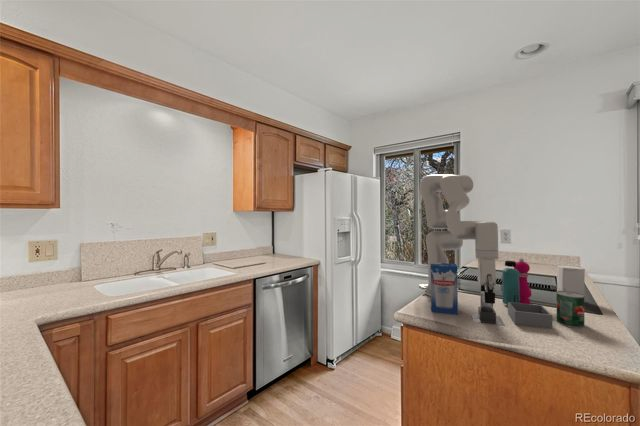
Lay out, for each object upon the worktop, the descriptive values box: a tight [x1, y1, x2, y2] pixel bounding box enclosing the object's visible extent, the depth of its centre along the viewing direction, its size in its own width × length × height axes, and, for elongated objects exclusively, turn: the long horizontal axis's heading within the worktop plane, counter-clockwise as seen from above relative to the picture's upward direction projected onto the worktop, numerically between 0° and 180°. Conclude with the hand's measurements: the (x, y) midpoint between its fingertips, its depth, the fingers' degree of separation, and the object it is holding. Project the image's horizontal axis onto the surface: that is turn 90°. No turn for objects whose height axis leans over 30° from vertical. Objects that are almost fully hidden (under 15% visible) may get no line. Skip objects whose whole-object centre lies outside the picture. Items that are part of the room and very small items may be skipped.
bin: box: [507, 302, 553, 330], centre depth 106 cm, size 11×11×6 cm
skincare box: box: [556, 264, 586, 296], centre depth 131 cm, size 8×7×16 cm
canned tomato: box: [555, 290, 586, 329], centre depth 106 cm, size 8×8×11 cm
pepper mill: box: [513, 258, 532, 304], centre depth 130 cm, size 7×7×20 cm
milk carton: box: [430, 263, 459, 315], centre depth 118 cm, size 10×6×20 cm, turn 70°
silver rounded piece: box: [477, 290, 497, 322], centre depth 109 cm, size 5×5×10 cm
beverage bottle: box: [501, 260, 520, 306], centre depth 124 cm, size 6×7×20 cm
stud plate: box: [470, 312, 506, 327], centre depth 109 cm, size 10×10×4 cm
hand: (487, 299), depth 108 cm, fingers open, 9 cm apart
